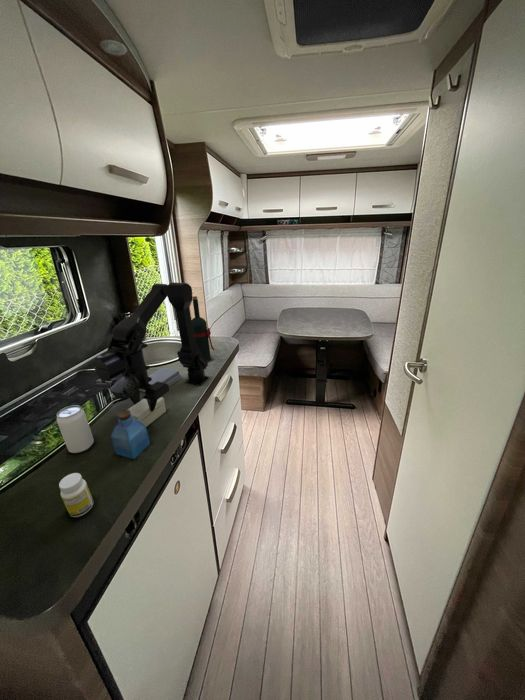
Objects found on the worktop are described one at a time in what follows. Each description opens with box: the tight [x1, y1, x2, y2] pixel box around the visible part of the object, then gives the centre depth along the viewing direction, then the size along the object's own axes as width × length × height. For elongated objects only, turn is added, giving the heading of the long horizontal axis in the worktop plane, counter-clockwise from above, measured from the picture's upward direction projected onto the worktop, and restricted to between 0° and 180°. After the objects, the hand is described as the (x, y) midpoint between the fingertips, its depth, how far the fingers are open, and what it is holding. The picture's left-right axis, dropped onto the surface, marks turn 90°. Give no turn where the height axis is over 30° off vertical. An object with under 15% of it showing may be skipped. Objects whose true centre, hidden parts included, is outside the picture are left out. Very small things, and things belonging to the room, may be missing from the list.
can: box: [56, 404, 95, 454], centre depth 77 cm, size 6×6×12 cm
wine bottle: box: [191, 295, 215, 362], centre depth 126 cm, size 8×10×30 cm
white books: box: [140, 403, 167, 428], centre depth 90 cm, size 11×6×3 cm, turn 156°
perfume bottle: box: [110, 409, 151, 460], centre depth 76 cm, size 6×6×12 cm
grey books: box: [140, 367, 182, 393], centre depth 110 cm, size 14×9×4 cm, turn 156°
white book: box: [127, 396, 165, 422], centre depth 89 cm, size 11×6×2 cm, turn 156°
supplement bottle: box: [58, 472, 94, 518], centre depth 60 cm, size 5×5×8 cm
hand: (145, 408), depth 89 cm, fingers closed on white book, 6 cm apart
